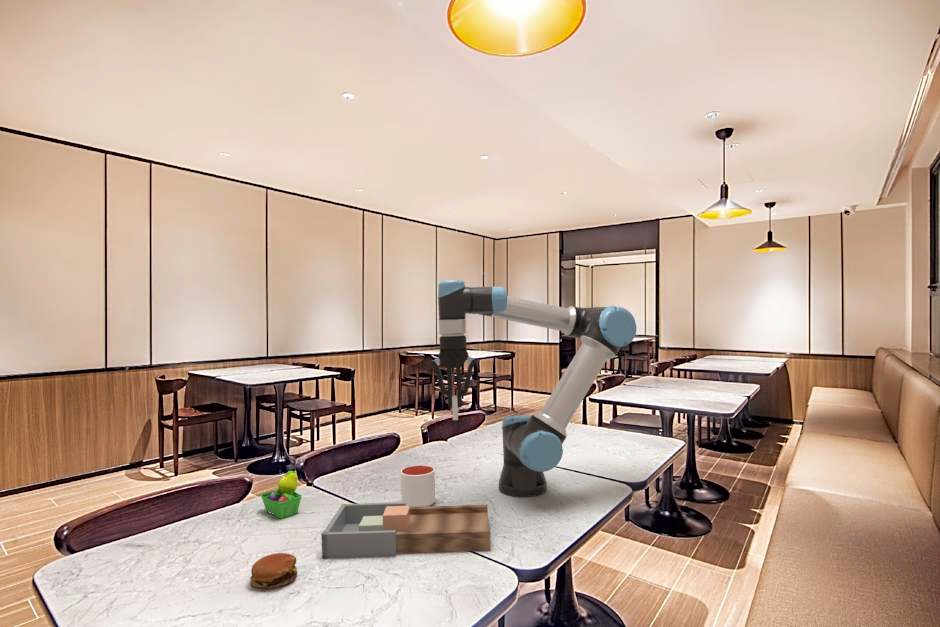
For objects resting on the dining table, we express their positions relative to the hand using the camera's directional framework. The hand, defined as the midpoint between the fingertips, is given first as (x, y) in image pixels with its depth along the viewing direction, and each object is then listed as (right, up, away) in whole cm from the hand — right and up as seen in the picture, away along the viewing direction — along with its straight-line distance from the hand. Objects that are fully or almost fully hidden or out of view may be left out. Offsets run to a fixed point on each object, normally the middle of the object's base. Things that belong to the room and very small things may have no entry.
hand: (455, 418), depth 143 cm
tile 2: (-14, -24, -15) cm, 32 cm away
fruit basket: (-50, -28, +5) cm, 58 cm away
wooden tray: (-2, -26, -15) cm, 31 cm away
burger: (-38, -28, -34) cm, 58 cm away
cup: (-11, -27, +8) cm, 30 cm away
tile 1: (-20, -26, -15) cm, 36 cm away
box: (-22, -27, -15) cm, 38 cm away
